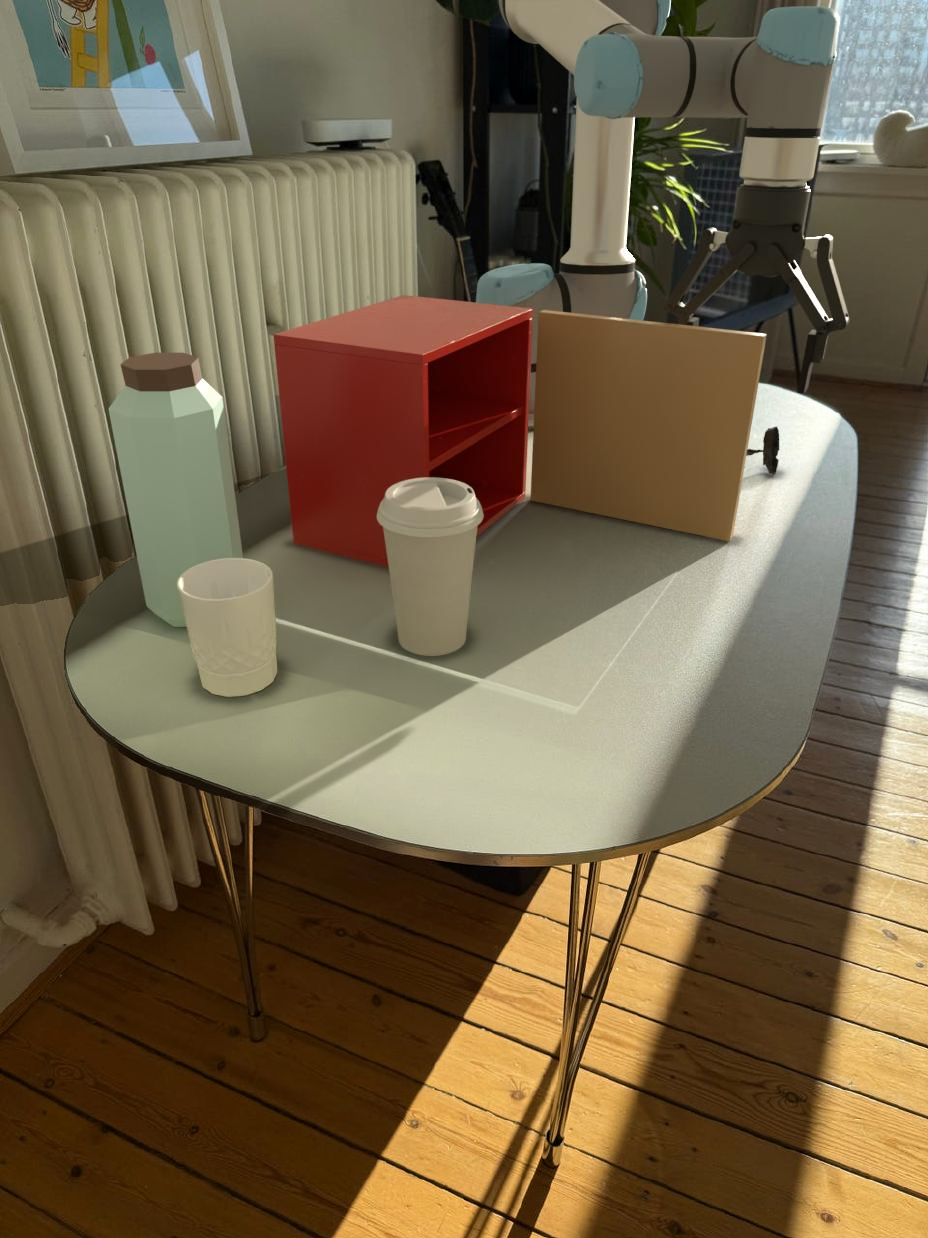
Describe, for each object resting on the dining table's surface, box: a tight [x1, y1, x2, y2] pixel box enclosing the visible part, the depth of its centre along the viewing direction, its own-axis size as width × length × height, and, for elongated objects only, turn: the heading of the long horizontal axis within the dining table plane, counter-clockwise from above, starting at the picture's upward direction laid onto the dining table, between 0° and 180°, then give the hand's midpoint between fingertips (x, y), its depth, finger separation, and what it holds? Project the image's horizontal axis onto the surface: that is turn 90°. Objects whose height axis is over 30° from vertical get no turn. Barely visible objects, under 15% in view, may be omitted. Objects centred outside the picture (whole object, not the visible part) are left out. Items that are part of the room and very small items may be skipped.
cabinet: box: [272, 294, 533, 568], centre depth 106 cm, size 18×26×24 cm
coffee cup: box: [377, 477, 484, 657], centre depth 83 cm, size 10×10×15 cm
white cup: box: [177, 557, 278, 698], centre depth 78 cm, size 8×8×10 cm
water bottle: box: [108, 352, 244, 628], centre depth 86 cm, size 10×10×25 cm
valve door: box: [529, 310, 768, 542], centre depth 109 cm, size 8×26×24 cm, turn 61°
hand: (742, 382), depth 106 cm, fingers open, 13 cm apart
